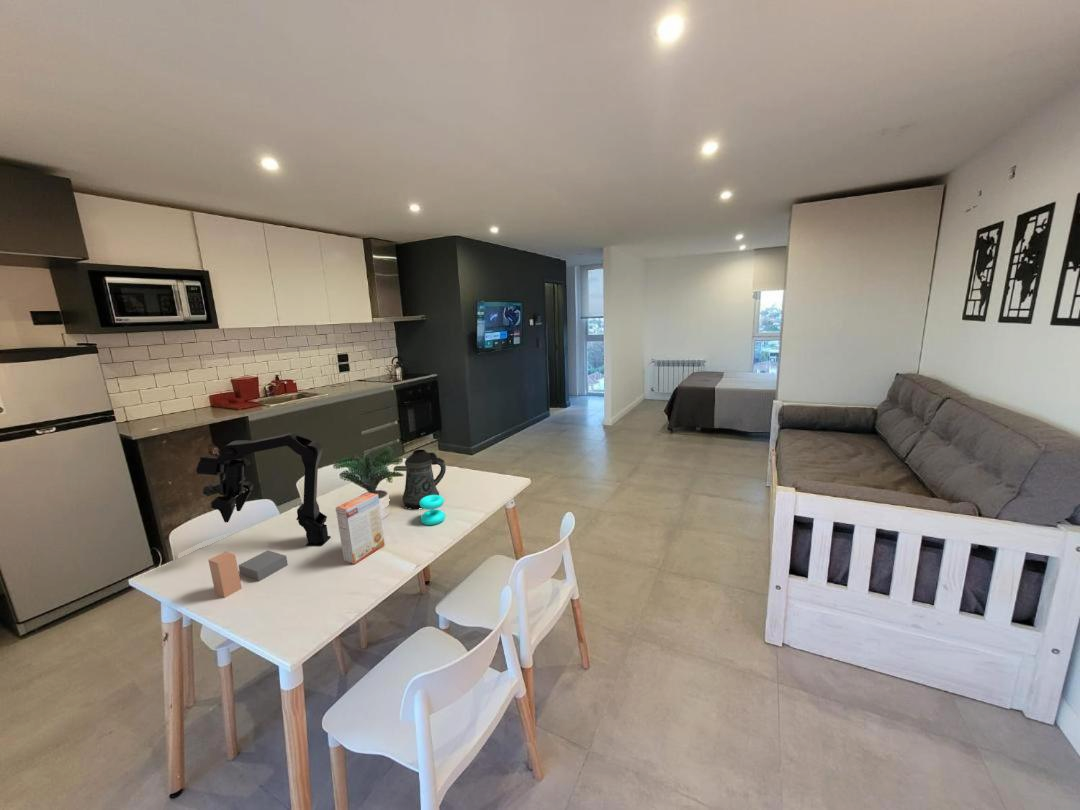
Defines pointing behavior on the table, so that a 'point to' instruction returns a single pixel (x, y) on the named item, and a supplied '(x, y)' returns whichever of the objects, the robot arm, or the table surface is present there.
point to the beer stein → (421, 477)
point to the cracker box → (360, 527)
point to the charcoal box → (263, 565)
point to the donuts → (430, 504)
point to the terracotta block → (225, 574)
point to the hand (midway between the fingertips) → (232, 516)
